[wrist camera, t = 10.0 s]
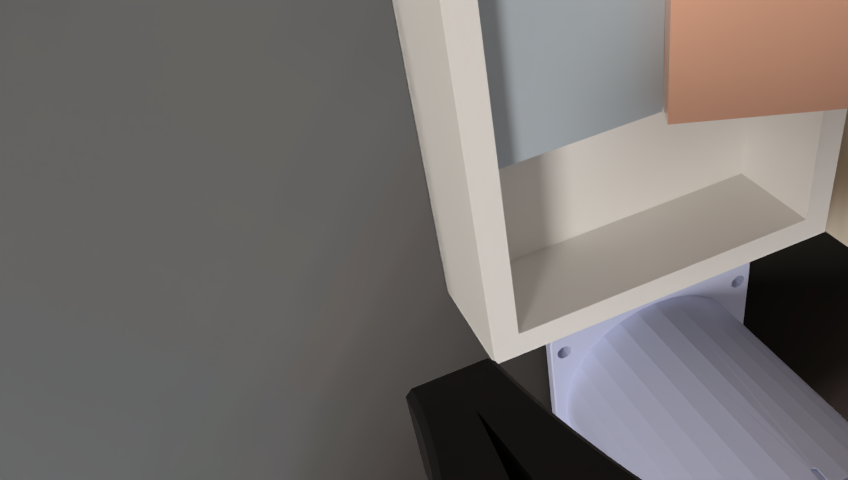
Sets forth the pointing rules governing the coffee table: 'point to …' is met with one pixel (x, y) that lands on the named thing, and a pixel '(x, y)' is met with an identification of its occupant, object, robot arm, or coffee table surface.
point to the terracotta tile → (753, 58)
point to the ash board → (840, 194)
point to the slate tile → (569, 69)
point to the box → (596, 196)
